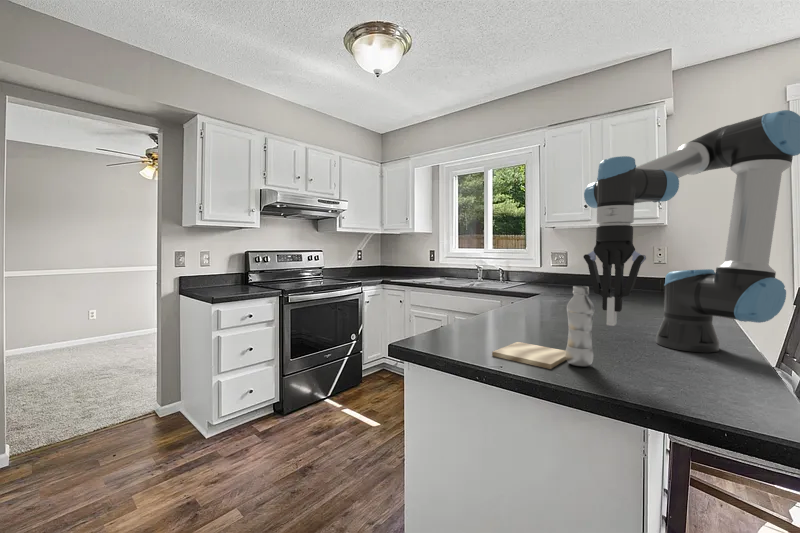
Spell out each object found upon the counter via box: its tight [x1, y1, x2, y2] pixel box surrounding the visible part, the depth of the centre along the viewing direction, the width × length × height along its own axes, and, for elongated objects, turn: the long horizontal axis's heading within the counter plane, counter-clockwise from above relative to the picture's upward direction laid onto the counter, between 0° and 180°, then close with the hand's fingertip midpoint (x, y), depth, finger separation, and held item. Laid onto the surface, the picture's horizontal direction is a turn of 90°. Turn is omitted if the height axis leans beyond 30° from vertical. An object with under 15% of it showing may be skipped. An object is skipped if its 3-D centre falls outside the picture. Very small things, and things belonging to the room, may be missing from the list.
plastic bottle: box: [565, 285, 596, 367], centre depth 93 cm, size 6×7×20 cm
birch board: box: [491, 341, 567, 370], centre depth 102 cm, size 16×15×1 cm
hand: (611, 324), depth 88 cm, fingers closed
